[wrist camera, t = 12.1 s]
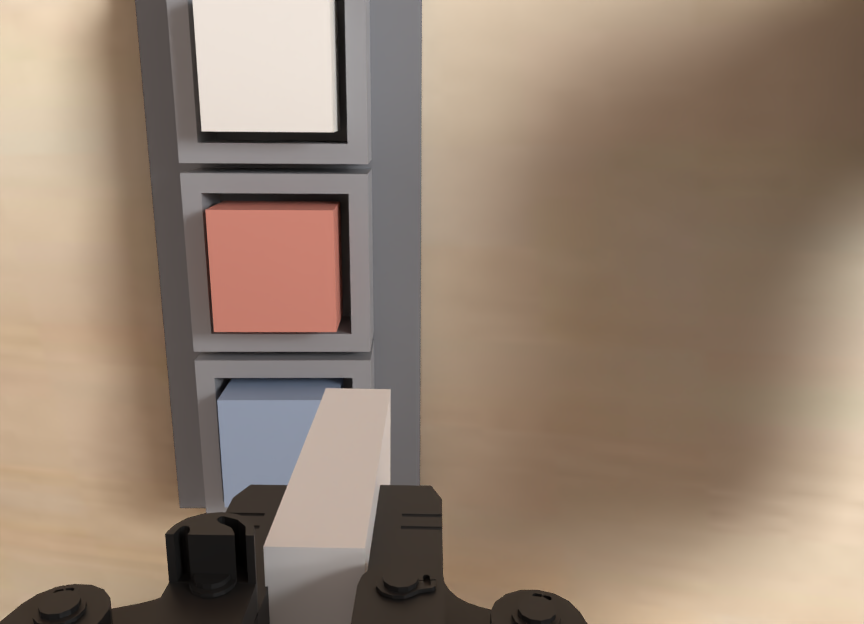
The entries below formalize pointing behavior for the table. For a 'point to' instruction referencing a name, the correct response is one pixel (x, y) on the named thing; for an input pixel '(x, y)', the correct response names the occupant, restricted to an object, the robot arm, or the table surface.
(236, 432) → the blue key
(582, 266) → the table surface
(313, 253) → the red key
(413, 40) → the keypad
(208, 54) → the white key
